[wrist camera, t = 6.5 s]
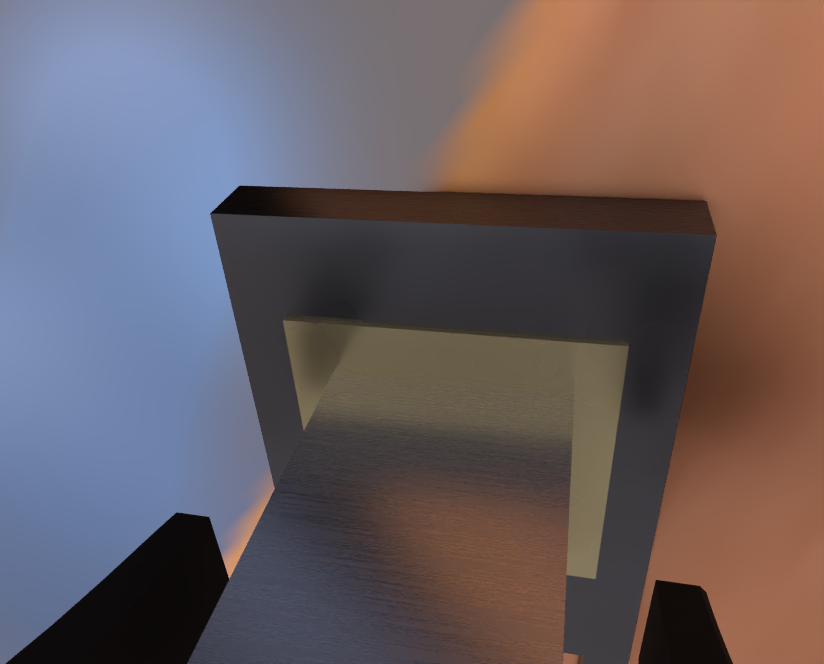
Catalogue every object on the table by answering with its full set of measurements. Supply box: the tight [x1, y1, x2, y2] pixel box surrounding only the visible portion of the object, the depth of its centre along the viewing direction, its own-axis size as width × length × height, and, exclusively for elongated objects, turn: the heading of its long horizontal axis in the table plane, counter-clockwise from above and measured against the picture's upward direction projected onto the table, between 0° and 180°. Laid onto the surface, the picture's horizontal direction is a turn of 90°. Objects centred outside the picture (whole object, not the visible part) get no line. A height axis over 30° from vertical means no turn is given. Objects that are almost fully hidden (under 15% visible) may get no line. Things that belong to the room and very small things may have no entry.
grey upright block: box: [187, 373, 574, 664], centre depth 11 cm, size 4×4×6 cm
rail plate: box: [210, 186, 717, 664], centre depth 18 cm, size 8×22×1 cm, turn 4°
